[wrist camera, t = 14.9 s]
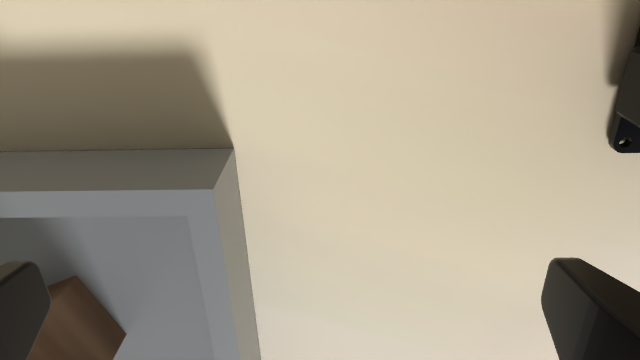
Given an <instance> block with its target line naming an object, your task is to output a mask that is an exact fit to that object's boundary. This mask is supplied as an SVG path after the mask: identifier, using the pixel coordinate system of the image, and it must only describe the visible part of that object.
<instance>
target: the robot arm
mask: <svg viewBox="0 0 640 360" xmlns="http://www.w3.org/2000/svg"><path fill="white" fill-rule="evenodd" d="M615 111H616V115H615V118H614V122H613V125H612V129H611V133H610V136H609V142H608V143H609V145H610V147H611V148H613V149H614V150H616V151H617V152H619V153H640V28H639V32H638V35H637V39H636V43H635V46H634V49H633V50H632V51H631V52H630V55H629V58H628V62H627V66H626V69H625V73H624V77H623V80H622V84H621V88H620V91H619V95H618V98H617V102H616V106H615ZM624 137H626V140H625V142H624V143H622V144H619V142H620V140H621V139H623V138H624ZM541 304H542V309H543V312H544V315H545V318H546V321H547V324H548V327H549V330H550V333H551V336H552V339H553V342H554V345H555V348H556V351H557V354H558V357H559V360H640V292H638V291H637V290H635V289H633V288H631V287H630V286H628V285H626V284H624V283H622V282H621V281H619V280H617V279H615V278H614V277H612V276H610V275H608V274H606V273H605V272H603V271H601V270H599V269H597V268H596V267H594V266H592V265H590V264H589V263H587V262H585V261H583V260H581V259H579V258H555V259H553V260H551V262H550V264H549V266H548V270H547V275H546V279H545V283H544V287H543V291H542V296H541ZM50 306H51V296H50V293H49V291H48V288H47V286H46V283H45V281H44V278H43V275H42V273H41V270H40V268H39V266H38V265H37V264H36V263H35V262H32V261H11V262H7V263H5V264H3V265H0V360H27V359H28V356H29V354H30V352H31V350H32V348H33V345H34V343H35V341H36V339H37V337H38V334H39V332H40V330H41V328H42V326H43V323H44V321H45V319H46V317H47V315H48V312H49V310H50Z"/></svg>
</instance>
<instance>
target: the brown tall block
mask: <svg viewBox="0 0 640 360" xmlns="http://www.w3.org/2000/svg"><path fill="white" fill-rule="evenodd" d="M47 288H48V291H49V293H50V296H51V306H50V310H49V312H48V315H47V317H46V319H45V321H44V323H43V326H42V328H41V330H40V332H39V334H38V337H37V339H36V341H35V343H34V345H33V348H32V350H31V352H30V354H29V356H28V359H27V360H113V359H114V357H115V355H116V353H117V351H118V349H119V348H120V346H121V344H122V342H123V340H124V338H125V337H126V335H127V334H126V333H125V332H124V330H123V329H122V328H121V327H120V326H119V325H118V323H117V322H116V321H115V320H114V319H113V318H112V316H111V315H110V314H109V313H108V312H107V311H106V310H105V308H104V307H103V306H102V305H101V304H100V303H99V301H98V300H97V299H96V298H95V297H94V296H93V294H92V293H91V292H90V291H89V290H88V289H87V287H86V286H85V285H84V284H83V283H82V282H81V280H80V279H79V278H78V277H77V276H73V277H70V278H68V279H65V280H63V281H60V282H57V283H55V284H52V285H50V286H47Z"/></svg>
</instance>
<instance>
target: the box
mask: <svg viewBox="0 0 640 360" xmlns="http://www.w3.org/2000/svg"><path fill="white" fill-rule="evenodd" d="M11 261H32V262H35V263H36V264H37V265H38V266H39V268H40V270H41V273H42V275H43V278H44V281H45V283H46V286H50V285H52V284H55V283H57V282H60V281H63V280H65V279H68V278H70V277H73V276H77V277H78V278H79V279H80V280H81V282H82V283H83V284H84V285H85V286H86V287H87V289H88V290H89V291H90V292H91V293H92V294H93V296H94V297H95V298H96V299H97V300H98V301H99V303H100V304H101V305H102V306H103V307H104V308H105V310H106V311H107V312H108V313H109V314H110V315H111V316H112V318H113V319H114V320H115V321H116V322H117V323H118V325H119V326H120V327H121V328H122V329H123V330H124V332H125V333H126V334H127V335H126V337H125V338H124V340H123V342H122V344H121V346H120V348H119V349H118V351H117V353H116V355H115V357H114V359H113V360H261V357H260V349H259V341H258V333H257V325H256V318H255V310H254V302H253V294H252V286H251V278H250V270H249V263H248V255H247V247H246V239H245V231H244V223H243V215H242V208H241V200H240V192H239V184H238V176H237V168H236V160H235V153H234V148H220V149H155V150H89V151H24V152H0V265H3V264H5V263H7V262H11Z"/></svg>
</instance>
